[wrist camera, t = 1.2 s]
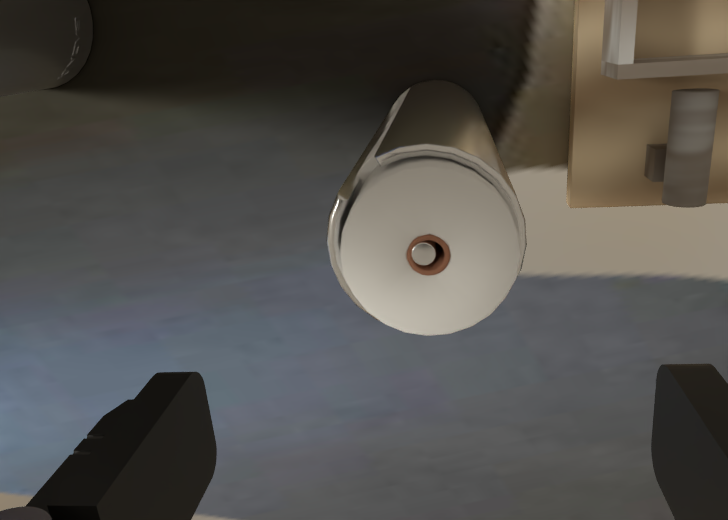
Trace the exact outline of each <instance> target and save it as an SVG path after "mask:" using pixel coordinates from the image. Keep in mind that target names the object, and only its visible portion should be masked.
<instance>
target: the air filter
mask: <svg viewBox="0 0 728 520" xmlns="http://www.w3.org/2000/svg"><path fill="white" fill-rule="evenodd" d="M326 241H327V247H328V253H329V258H330V264H331V266H332V269H333V271H334V273H335V275H336V277H337V279H338V281H339V284H340V286H341V287H342V288H343V290H344V291H345V292H346V293H347V294H348V296H349V297H350V298H351V299H352V300H353V302H354V303H355V304H356V305H357V306H358V307H360V308H361V309H362V310H364V311H365V312H366V313H368V314H369V315H371V316H372V317H373V318H375V319H376V320H379V321H381V322H383V323H384V324H386V325H388V326H391V327H393V328H396V329H398V330H401V331H403V332H406V333H413V334H420V335H427V336H429V335H441V334H450V333H454V332H457V331H460V330H463V329H466V328H469V327H471V326H473V325H475V324H476V323H478V322H479V321H481V320H483V319H484V318H486V317H487V316H489V315H490V314H491V313H492V312H493V311H494V310H495V309H496V308H497V307H498V305H499V304H500V303H501V302H502V301H503V300H504V299H505V298H506V296H507V294H508V292H509V291H510V289H511V287H512V286H513V284H514V282H515V280H516V278H517V276H518V274H519V272H520V271H521V268H522V263H523V258H524V254H525V250H526V245H527V243H526V229H525V218H524V215H523V213H522V210H521V207H520V204H519V202H518V199H517V196H516V194H515V191H514V189H513V187H512V184H511V182H510V180H509V177H508V175H507V172H506V170H505V167H504V165H503V163H502V160H501V158H500V155H499V153H498V151H497V148H496V146H495V144H494V141H493V139H492V136H491V134H490V132H489V129H488V127H487V125H486V122H485V120H484V117H483V115H482V113H481V110H480V108H479V105H478V104H477V102H476V101H475V100H474V98H473V97H472V96H471V94H470V93H468V92H467V91H466V90H465V89H463V88H462V87H461V86H458V85H456V84H454V83H451V82H449V81H442V80H430V81H423V82H421V83H418V84H416V85H414V86H411V87H410V88H409V89H407V90H406V91H405V92H404V93H402V94H401V95H400V96H399V98H398V99H397V100H396V102H395V103H394V104H393V106H392V107H391V109H390V111H389V112H388V114H387V115H386V117H385V119H384V120H383V122H382V123H381V125H380V127H379V128H378V130H377V131H376V133H375V134H374V136H373V138H372V139H371V141H370V142H369V144H368V146H367V147H366V149H365V150H364V152H363V153H362V155H361V157H360V158H359V160H358V161H357V163H356V165H355V166H354V168H353V169H352V171H351V173H350V174H349V176H348V177H347V179H346V180H345V182H344V184H343V185H342V187H341V188H340V190H339V192H338V193H337V196H336V199H335V201H334V204H333V206H332V209H331V211H330V214H329V218H328V228H327V239H326Z"/></svg>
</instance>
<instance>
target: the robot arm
mask: <svg viewBox="0 0 728 520" xmlns="http://www.w3.org/2000/svg"><path fill="white" fill-rule="evenodd" d="M92 40H93V21H92V16H91V11H90V6H89V4H88V1H87V0H0V97H1V96H7V95H13V94H20V93H26V92H31V91H37V90H43V89H48V88H54V87H58V86H60V85H62V84H64V83H66V82H68V81H69V80H71V79H72V78H73V77H74V76H76V75H77V74H78V73H79V71H80V70H81V68H82V67H83V66H84V64H85V63H86V60H87V58H88V56H89V53H90V50H91V45H92ZM651 451H652V461H653V467H654V472H655V476H656V479H657V481H658V484H659V486H660V488H661V490H662V492H663V495H664V497H665V499H666V501H667V503H668V505H669V507H670V509H671V512H672V514H673V516H674V518H675V520H728V384H727V382H726V381H725V380H724V379H723V377H722V376H721V375H720V374H719V372H718V371H717V370H716V368H715V367H714V366H713V365H711V364H669V365H661V366H660V368H659V370H658V373H657V379H656V391H655V404H654V417H653V430H652V443H651ZM216 455H217V451H216V441H215V436H214V430H213V425H212V420H211V415H210V410H209V405H208V400H207V395H206V389H205V385H204V381H203V378H202V376H201V375H200V374H199V373H198V372H163V373H156V374H155V375H154V376H153V377H152V378H151V379H150V380H149V382H148V383H147V384H146V385H145V387H144V388H143V389H142V390H141V391H140V393H139V394H138V395H137V396H136V398H135V399H134V400H127V401H125V402H124V403H122V404H121V405H119V406H118V407H116V408H115V409H113V410H112V411H110V412H109V413H107V414H106V415H104V416H103V417H102V418H101V419H100V421H99V422H98V423H97V424H96V425H95V426H94V428H93V429H92V430H91V431H90V432H89V433H88V435H87V439H83V440H82V441H81V443H80V444H79V445H78V446H77V447H76V448H75V450H74V454H73V455H69V457H68V458H67V459H66V460H65V461H64V462H63V463H62V465H61V466H60V467H59V468H58V469H57V470H56V472H55V473H54V474H53V475H52V476H51V477H50V478H49V480H48V481H47V482H46V483H45V484H44V485H43V487H42V488H41V489H40V490H39V491H38V492H37V494H36V495H35V496H34V497H33V498H32V499H31V501H30V502H29V503H28V504H27V505H26V506H25V507H16V508H11V509H6V510H3V511H0V520H191V519H192V517H193V515H194V513H195V511H196V509H197V507H198V505H199V503H200V501H201V499H202V497H203V495H204V493H205V491H206V489H207V487H208V485H209V483H210V481H211V479H212V477H213V474H214V470H215V465H216Z"/></svg>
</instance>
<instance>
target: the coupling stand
mask: <svg viewBox="0 0 728 520" xmlns="http://www.w3.org/2000/svg"><path fill="white" fill-rule="evenodd" d="M567 177H568V178H567V199H566V200H567V201H566V202H567V204H568V205H569V207H570V208H587V207H618V206H648V205H669V206H675V207H699V206H704V205H705V204H711V203H728V0H575V7H574V31H573V55H572V79H571V103H570V127H569V151H568V175H567Z"/></svg>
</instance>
